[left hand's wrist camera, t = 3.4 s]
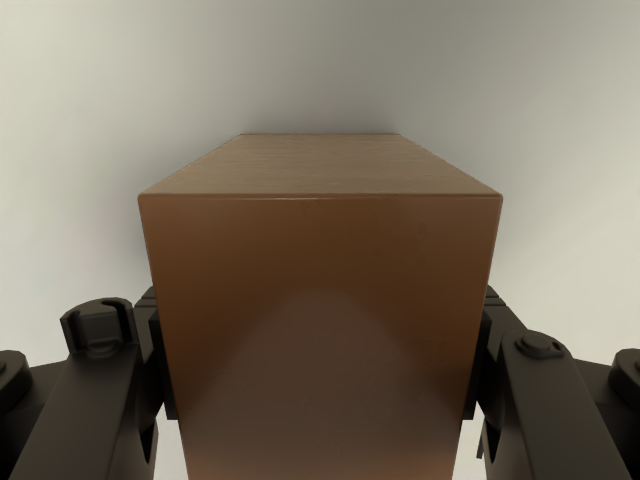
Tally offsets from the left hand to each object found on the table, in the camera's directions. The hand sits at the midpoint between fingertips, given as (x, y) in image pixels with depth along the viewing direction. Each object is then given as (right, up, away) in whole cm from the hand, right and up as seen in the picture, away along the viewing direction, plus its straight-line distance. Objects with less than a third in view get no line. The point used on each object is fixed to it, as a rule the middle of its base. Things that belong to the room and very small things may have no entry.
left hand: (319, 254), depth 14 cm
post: (0, -35, +14) cm, 37 cm away
